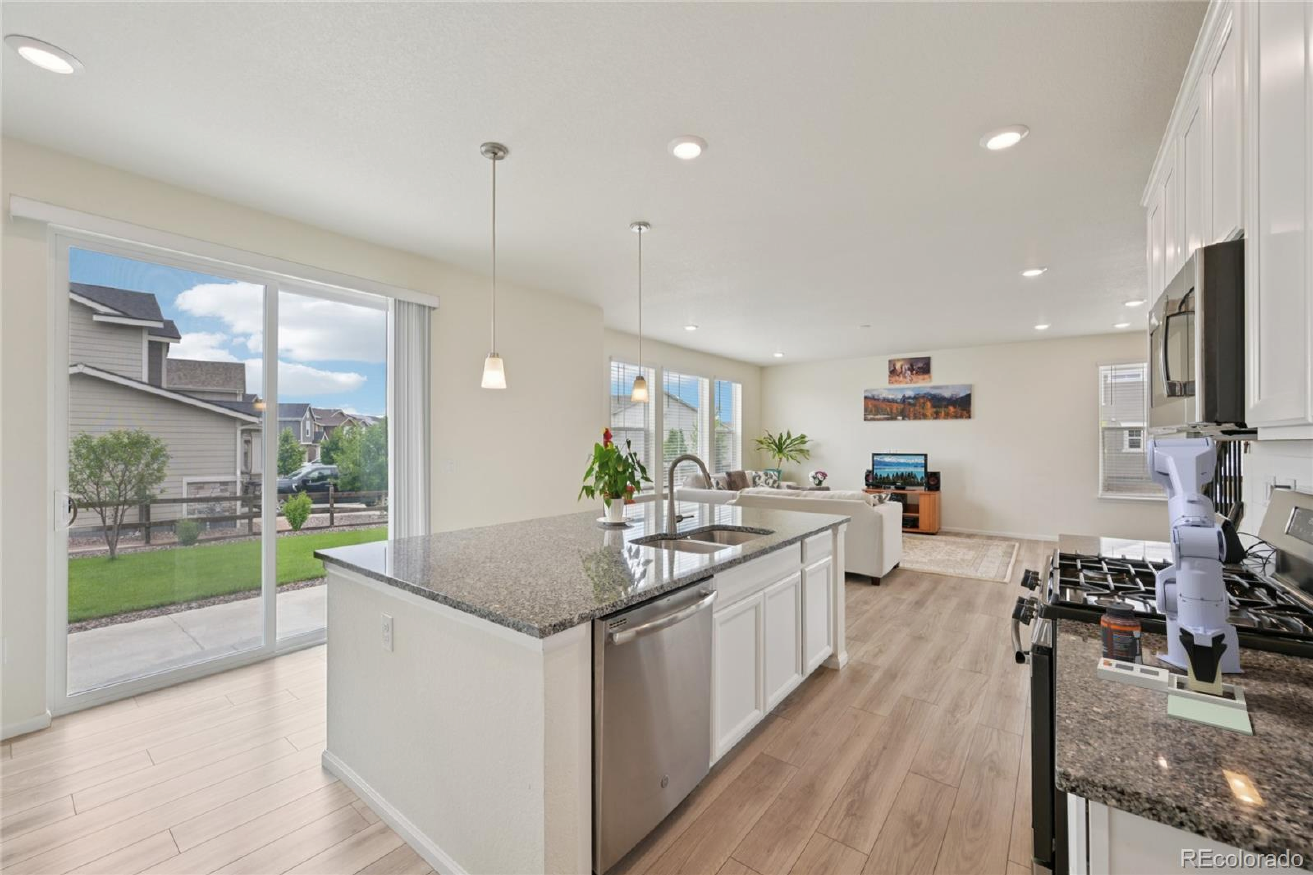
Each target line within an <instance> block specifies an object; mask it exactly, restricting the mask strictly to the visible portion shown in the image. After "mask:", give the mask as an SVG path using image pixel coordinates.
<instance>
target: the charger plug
mask: <svg viewBox="0 0 1313 875" xmlns="http://www.w3.org/2000/svg"><path fill="white" fill-rule="evenodd" d="M1187 667H1188V671H1187V676H1188V684H1187V685H1188V686H1187V687H1188V690H1193V691H1198V692H1203V693H1208V694H1213V695H1218V696H1224V695H1223V691H1222V683H1223V681H1222V673H1221V659H1220V660H1219V663H1218V668H1217V673H1216V678H1215V681H1214V684H1212V683H1206V682H1201V681H1197V680H1196V678H1195V676H1194V673H1193V669H1192V666H1191V662H1190V659H1189V656H1188V654H1187Z"/></svg>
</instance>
